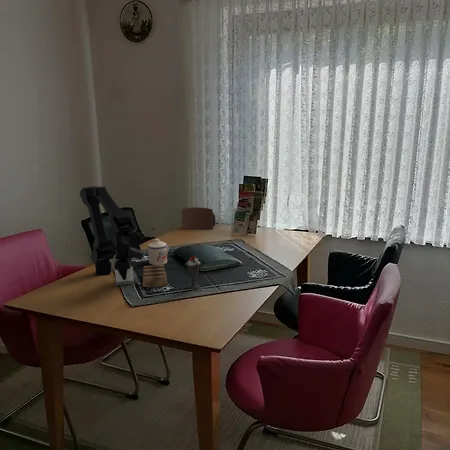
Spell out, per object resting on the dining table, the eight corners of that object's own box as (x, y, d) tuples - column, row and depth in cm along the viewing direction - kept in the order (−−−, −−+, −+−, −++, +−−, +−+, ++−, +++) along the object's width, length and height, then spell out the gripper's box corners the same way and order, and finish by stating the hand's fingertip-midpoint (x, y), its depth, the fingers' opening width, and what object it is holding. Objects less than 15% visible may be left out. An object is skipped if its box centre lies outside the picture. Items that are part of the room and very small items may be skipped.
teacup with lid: (159, 266, 200) (157, 243, 197) (144, 263, 205) (143, 240, 202) (175, 259, 210) (174, 237, 207) (161, 257, 215) (160, 234, 212)
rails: (114, 285, 178) (114, 282, 177) (115, 281, 182) (115, 279, 182) (134, 284, 179) (134, 281, 179) (134, 280, 184) (134, 277, 183)
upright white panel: (116, 284, 179) (115, 269, 177) (116, 282, 181) (115, 267, 180) (133, 283, 180) (132, 268, 179) (133, 281, 182) (132, 266, 181)
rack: (143, 287, 175) (142, 278, 174) (142, 275, 189) (142, 266, 188) (167, 285, 177) (167, 276, 176) (165, 273, 191) (165, 264, 190)
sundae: (189, 291, 171) (188, 255, 167) (183, 285, 177) (181, 251, 173) (204, 288, 174) (203, 252, 170) (197, 282, 180) (196, 248, 176)
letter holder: (213, 229, 268) (212, 207, 265) (182, 229, 271) (181, 207, 267) (215, 226, 277) (215, 204, 274) (185, 225, 280) (185, 204, 277)
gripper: (141, 248, 169) (144, 285, 173) (141, 236, 187) (143, 269, 191) (113, 250, 167) (115, 287, 171) (115, 237, 185) (118, 271, 189)
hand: (124, 278), depth 180 cm, fingers closed on upright white panel, 2 cm apart
